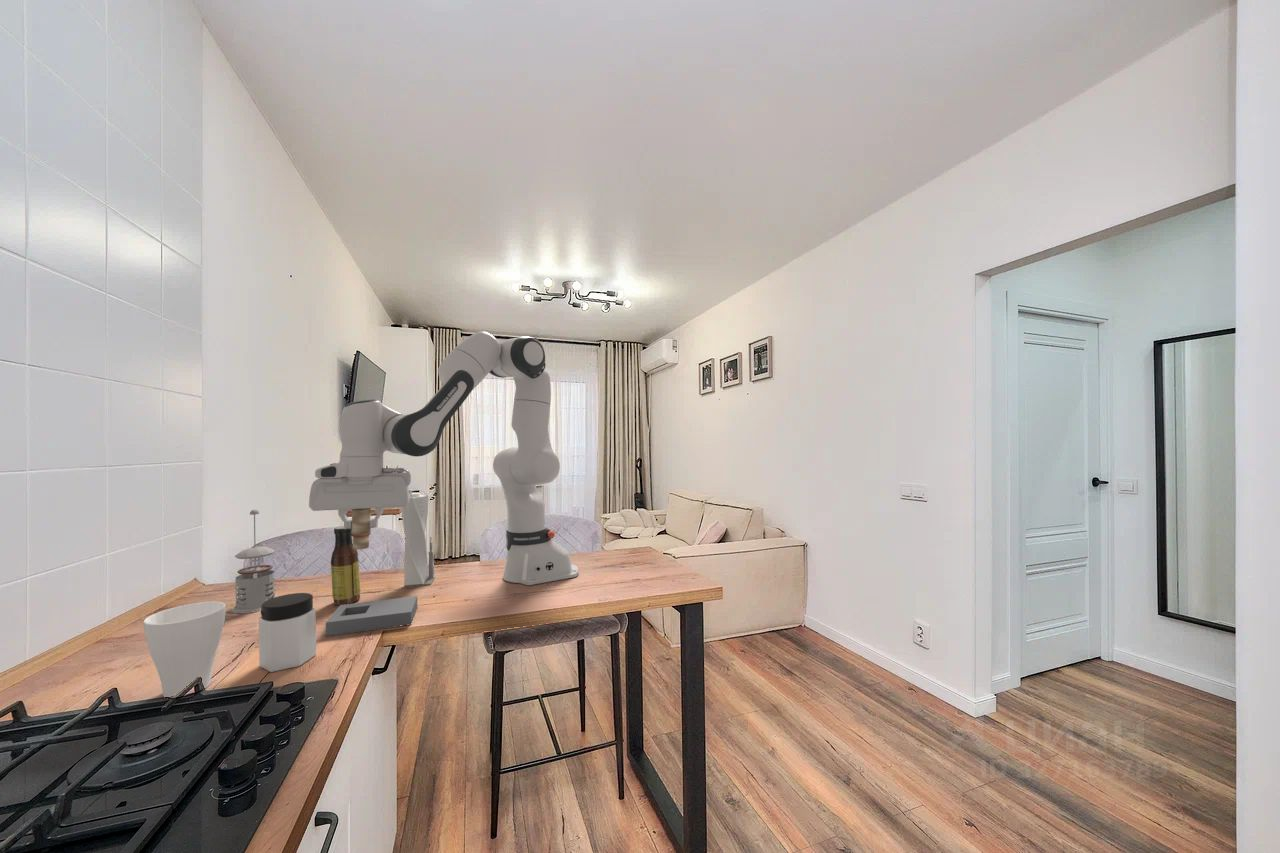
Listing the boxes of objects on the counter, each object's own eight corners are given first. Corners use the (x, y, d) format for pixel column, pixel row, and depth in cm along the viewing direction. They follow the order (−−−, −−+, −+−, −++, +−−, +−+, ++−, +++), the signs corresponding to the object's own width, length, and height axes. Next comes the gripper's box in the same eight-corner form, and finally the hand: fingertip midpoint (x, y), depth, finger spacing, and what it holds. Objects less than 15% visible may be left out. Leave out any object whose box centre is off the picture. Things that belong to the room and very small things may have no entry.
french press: (230, 616, 116) (228, 514, 116) (231, 603, 125) (230, 508, 125) (280, 606, 123) (279, 509, 123) (278, 595, 132) (277, 504, 132)
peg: (372, 545, 113) (372, 507, 114) (368, 549, 110) (369, 509, 110) (353, 546, 112) (354, 508, 112) (349, 550, 108) (349, 510, 109)
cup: (136, 714, 76) (135, 630, 76) (152, 686, 85) (151, 610, 85) (223, 692, 82) (222, 614, 82) (230, 668, 91) (229, 597, 91)
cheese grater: (429, 586, 136) (428, 488, 137) (398, 589, 135) (397, 490, 135) (435, 577, 145) (433, 485, 145) (406, 580, 143) (404, 486, 143)
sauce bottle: (352, 596, 130) (351, 523, 130) (365, 600, 126) (364, 525, 126) (326, 604, 124) (325, 527, 124) (339, 608, 121) (338, 529, 121)
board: (417, 607, 120) (417, 596, 120) (411, 624, 110) (411, 611, 110) (340, 617, 115) (340, 605, 115) (325, 636, 104) (325, 622, 104)
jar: (284, 650, 98) (284, 592, 98) (324, 650, 98) (323, 591, 98) (248, 673, 89) (247, 608, 89) (292, 672, 89) (291, 608, 89)
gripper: (412, 466, 118) (411, 523, 117) (316, 468, 111) (315, 528, 111) (408, 468, 112) (408, 527, 111) (306, 470, 105) (305, 533, 105)
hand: (361, 528), depth 111 cm, fingers closed on peg, 4 cm apart
